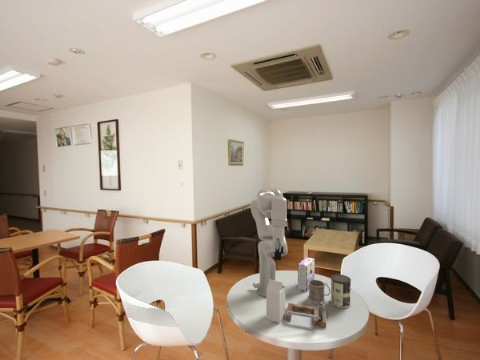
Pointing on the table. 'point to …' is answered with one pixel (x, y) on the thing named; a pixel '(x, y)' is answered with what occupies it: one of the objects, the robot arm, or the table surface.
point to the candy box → (305, 273)
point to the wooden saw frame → (309, 310)
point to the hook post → (321, 310)
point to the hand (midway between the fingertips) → (279, 256)
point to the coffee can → (340, 290)
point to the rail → (302, 315)
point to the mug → (317, 291)
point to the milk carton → (275, 301)
